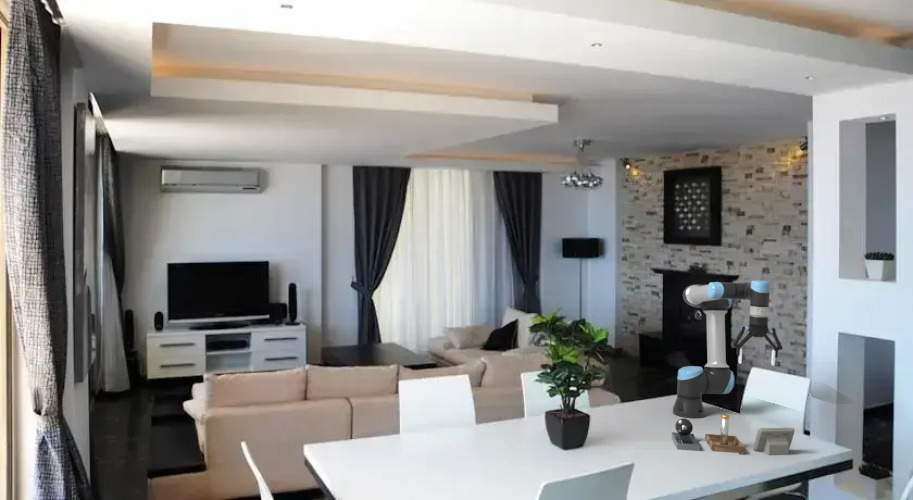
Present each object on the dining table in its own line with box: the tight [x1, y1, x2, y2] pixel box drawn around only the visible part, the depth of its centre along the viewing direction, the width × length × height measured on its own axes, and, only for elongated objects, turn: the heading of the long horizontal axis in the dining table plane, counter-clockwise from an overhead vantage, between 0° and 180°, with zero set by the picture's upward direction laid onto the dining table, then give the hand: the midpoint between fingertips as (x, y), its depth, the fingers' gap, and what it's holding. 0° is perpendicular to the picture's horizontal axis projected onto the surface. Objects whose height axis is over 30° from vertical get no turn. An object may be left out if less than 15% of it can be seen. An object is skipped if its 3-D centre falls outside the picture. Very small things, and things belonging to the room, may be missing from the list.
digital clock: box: [752, 427, 795, 456], centre depth 297 cm, size 16×9×11 cm, turn 85°
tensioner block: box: [671, 418, 701, 452], centre depth 303 cm, size 16×9×10 cm, turn 171°
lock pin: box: [720, 414, 730, 445], centre depth 302 cm, size 3×3×13 cm
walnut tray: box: [704, 433, 745, 455], centre depth 302 cm, size 16×13×3 cm
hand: (756, 364), depth 312 cm, fingers open, 13 cm apart
